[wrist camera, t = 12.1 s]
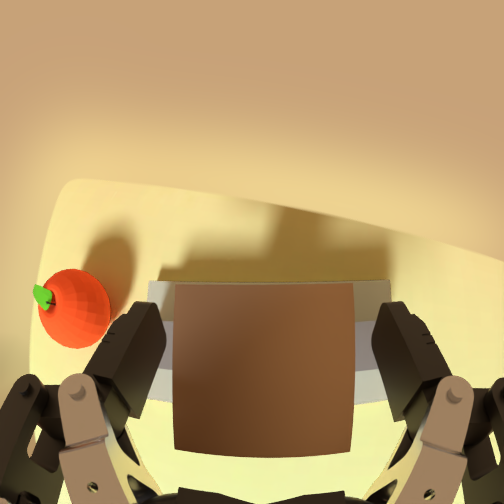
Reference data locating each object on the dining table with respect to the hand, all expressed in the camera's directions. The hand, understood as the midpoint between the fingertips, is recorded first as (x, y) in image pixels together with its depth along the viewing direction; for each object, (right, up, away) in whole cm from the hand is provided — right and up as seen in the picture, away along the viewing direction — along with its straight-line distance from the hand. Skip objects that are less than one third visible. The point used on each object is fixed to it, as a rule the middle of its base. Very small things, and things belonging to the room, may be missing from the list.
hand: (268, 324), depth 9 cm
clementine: (-16, -3, +14) cm, 21 cm away
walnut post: (0, -3, +6) cm, 6 cm away
